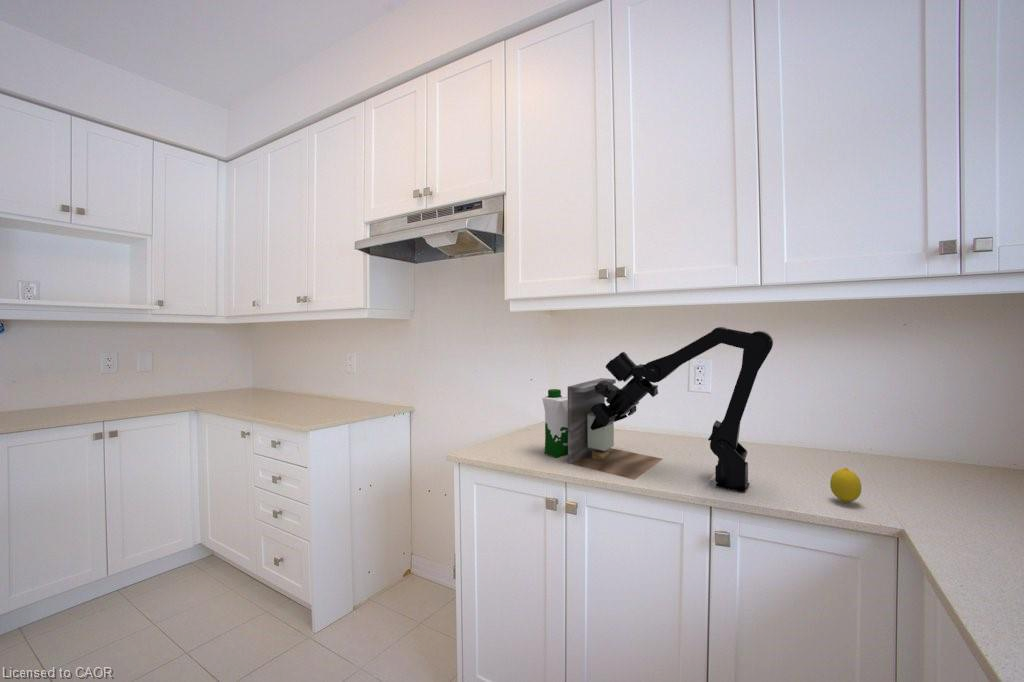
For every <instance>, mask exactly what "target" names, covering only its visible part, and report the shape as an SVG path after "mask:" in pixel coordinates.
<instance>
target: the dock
mask: <svg viewBox="0 0 1024 682" xmlns="http://www.w3.org/2000/svg"><path fill="white" fill-rule="evenodd" d="M604 380H606V381H608V382H610V383H612V384H613V385H615V384H616V382H617V379H616V378H604V377H600V378H596V379H593V380H588V381H585V382H579V383H576V384H572V385H568V386H567V396H568V454H567V464H569V465H573V466H578V467H581V468H585V469H589V470H593V471H597V472H601V473H605V474H610V475H614V476H618V477H622V478H627V479H630V480H636V479H638V478H639V477H640V476H642V475H643V474H645V473H646V472H647V471H648V470H650V469H652V468H653V467H654V466H656V465H657V464H659V463H660V462H661V461H662V460H663V458H662V457H657V456H651V455H646V454H642V453H637V452H631V451H627V450H621V449H617V448H613V447H611V448H609V449H607V450H606V451H603V450H598V449H594V448H589V447H588V418H587V414H589V413H591V408H592V407H593V406H594V405H595V404H598V403H605V404H606V398H605V397H604V396H602V395H600V394H599V393H596V392H595V389H596V388H595V386H596V385H597V384H598V383H599V382H600V381H604Z"/></svg>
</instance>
